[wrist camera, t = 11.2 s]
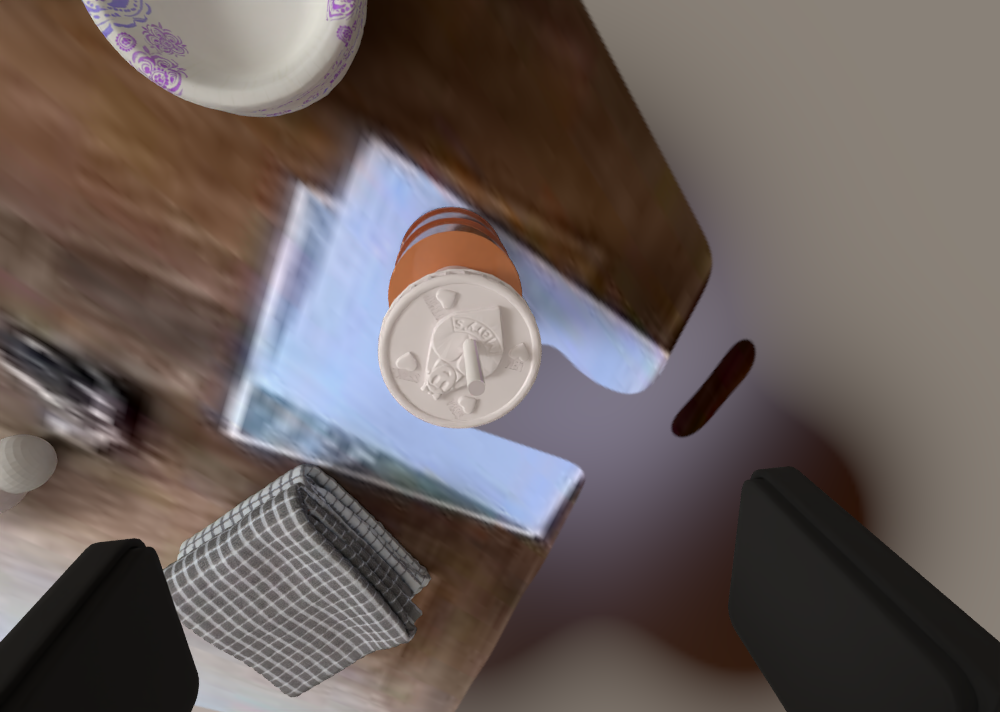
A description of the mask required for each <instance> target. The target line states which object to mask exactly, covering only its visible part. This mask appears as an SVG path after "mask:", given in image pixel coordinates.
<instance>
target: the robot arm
mask: <svg viewBox="0 0 1000 712" xmlns="http://www.w3.org/2000/svg"><path fill="white" fill-rule="evenodd" d="M728 609H729V615H730V619H731V622H732V625H733V627H734V629H735V631H736V632H737V634H738V635H739V637H740V639H741V640H742V642H743V643H744V645H745V646H746V648H747V650H748V651H749V653H750V654H751V656H752V657H753V659H754V661H755V662H756V664H757V665H758V667H759V669H760V670H761V672H762V673H763V675H764V676H765V678H766V679H767V681H768V683H769V684H770V686H771V687H772V689H773V691H774V692H775V693H776V695H777V697H778V698H779V700H780V702H781V703H782V705H783V706H784V708H785V710H786V711H787V712H1000V642H999V641H998V640H997V639H995V638H994V637H993V636H992V635H991V634H989V633H988V632H987V631H986V630H985V629H984V628H982V627H981V626H980V625H979V624H978V623H977V622H975V621H974V620H973V619H972V618H971V617H970V616H968V615H967V614H966V613H965V612H964V611H962V610H961V609H960V608H959V607H958V606H957V605H956V604H954V603H953V602H952V601H951V600H950V599H948V598H947V597H946V596H945V595H944V594H943V593H941V592H940V591H939V590H938V589H937V588H936V587H934V586H933V585H932V584H931V583H930V582H929V581H927V580H926V579H925V578H924V577H922V576H921V575H920V574H919V573H918V572H917V571H916V570H915V569H913V568H912V567H911V566H910V565H908V564H907V563H906V562H905V561H904V560H903V559H902V558H900V557H899V556H898V555H897V554H896V553H895V552H893V551H892V550H891V549H890V548H889V547H888V546H886V545H885V544H884V543H883V542H882V541H880V540H879V539H878V538H877V537H876V536H875V535H873V534H872V533H871V532H870V531H869V530H868V529H866V528H865V527H864V526H863V525H862V524H861V523H859V522H858V521H857V520H856V519H855V518H854V517H852V516H851V515H850V514H849V513H848V512H847V511H845V510H844V509H843V508H842V507H841V506H839V505H838V504H837V503H836V502H835V501H834V500H832V499H831V498H830V497H829V496H828V495H826V494H825V493H824V492H823V491H822V490H821V489H820V488H818V487H817V486H816V485H815V484H814V483H813V482H811V481H810V480H809V479H808V478H807V477H806V476H804V475H803V474H802V473H801V472H800V471H798V470H797V469H795V468H794V467H789V466H788V467H779V468H769V469H760V470H756V471H755V472H754V473H753V474H752V476H751V479H750V480H747V481H745V482H744V484H743V487H742V493H741V501H740V510H739V518H738V527H737V535H736V544H735V552H734V561H733V569H732V578H731V587H730V595H729V604H728ZM198 689H199V677H198V673H197V670H196V667H195V664H194V661H193V658H192V655H191V652H190V649H189V646H188V643H187V640H186V637H185V634H184V631H183V628H182V625H181V622H180V620H179V617H178V614H177V611H176V608H175V605H174V602H173V599H172V596H171V593H170V590H169V587H168V584H167V581H166V578H165V575H164V572H163V569H162V566H161V563H160V560H159V557H158V555H157V553H156V551H155V549H153V548H152V547H146V546H145V544H144V543H143V542H142V541H141V540H140V539H135V538H134V539H125V540H116V541H106V542H98V543H95V544H92V545H90V546H89V547H88V548H87V549H85V551H84V552H83V553H82V554H81V555H80V556H79V557H78V558H77V559H76V560H75V561H74V563H73V564H72V565H71V566H70V567H69V568H68V569H67V570H66V571H65V572H64V573H63V575H62V576H61V577H60V578H59V579H58V580H57V581H56V582H55V583H54V584H53V585H52V587H51V588H50V589H49V590H48V591H47V592H46V593H45V594H44V595H43V596H42V597H41V599H40V600H39V601H38V602H37V603H36V604H35V605H34V606H33V607H32V608H31V609H30V611H29V612H28V613H27V614H26V615H25V616H24V617H23V618H22V619H21V620H20V621H19V622H18V624H17V625H16V626H15V627H14V628H13V629H12V630H11V631H10V632H9V633H8V634H7V636H6V637H5V638H4V639H3V640H2V641H1V642H0V712H191V711H192V708H193V706H194V704H195V701H196V699H197V694H198Z"/></svg>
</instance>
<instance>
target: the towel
mask: <svg viewBox="0 0 1000 712" xmlns="http://www.w3.org/2000/svg"><path fill="white" fill-rule="evenodd" d="M180 547H181V548H180V553H179V554H178V559H177V561H175V562H174V563H172V564H170V565H169V566H168V567H166V568H165V569H163V572H164V575H165V578H166V581H167V584H168V587H169V590H170V593H171V596H172V599H173V602H174V605H175V608H176V611H177V614H178V617H179V620H180V621H181V622H182V623H183V624H184V625H185V626H186V627H187V628H188V629H192V630H193V632H194V633H195V634H197V635H199V636H200V637H203V638H204V640H206V641H207V642H209V643H212V644H213V645H214V646H216V647H217V648H218V649H220V650H223V651H224V652H226V653H228V654H230V655H233V656H234V657H235V658H237V659H239V660H241V661H244V663H245V664H247V665H248V666H249V667H253V668H254V670H255V671H257V672H258V673H259V674H262V675H263V676H264V678H266V679H267V680H268V681H271V683H272V684H274V686H276V687H279V688H280V690H281V691H282V692H283V693H284V694H287V695H288V696H290V697H296V696H299V695H301V694H302V693H303V692H306V691H308V690H309V689H311V688H312V687H314V686H316V685H318V684H320V683H321V682H323V681H324V680H327V679H328V678H330V677H332V676H333V675H334V674H336V673H338V672H340V671H342V670H343V669H345V668H346V667H348V666H349V665H351V664H353V663H354V662H356V661H357V660H359V659H361V658H363V657H364V656H365V655H367V654H370V653H373V652H375V651H376V650H382V649H388V648H391V647H396V646H398V645H399V644H401V643H402V644H403V643H408V642H409V641H410V640H411V639H412V638H413V637H414V635H415V633H416V631H417V628H416V627H415V625H414V623H415V621H416V620H417V619H418V618H419V617H420V616H421V615H422V611H421V610H420V609H419V608H418V607H417V606H416V605H415V604H414V603H413V602H412V601H411V599H412V598H413V597H414V595H415V594H417V593H419V592H420V591H421V590H422V588H423V587H425V586H427V585H428V582H429V581H430V580H431V577H430V575H429V573H428V572H427V569H426V568H425V567H424V566H421V565H420V564H419V562H418V561H417V560H416V559H414V558H413V557H412V556H411V555H410V554H409V553H408V552H407V551H406V550H405V548H403V547H402V546H401V545H400V544H399V543H398V541H397V540H396V539H395V538H394V537H392V535H391V534H390V533H389V532H388V531H387V530H386V529H384V526H383V525H382V524H381V523H380V522H378V521H376V520H375V518H374V517H373V516H372V515H371V514H370V513H368V511H366V510H365V509H364V507H362V506H361V505H360V504H359V502H358V501H357V500H356V499H354V498H353V497H352V496H351V495H350V494H349V493H347V491H345V490H344V488H342V487H341V485H339V484H338V483H337V482H336V480H334V479H333V478H332V477H330V476H329V475H327V474H325V473H324V472H323V471H322V470H321V469H320V468H318V467H317V466H315V465H311V464H303V465H299V466H297V467H296V468H295V469H293V470H290V471H288V472H287V473H286V474H285V475H284V476H280V477H279V478H278V479H276V480H275V482H272V483H270V484H268V485H267V486H266V488H264V489H262V490H260V491H258V492H257V493H256V494H255V495H252V496H250V497H249V498H247V499H246V500H245V501H243V502H241V503H240V504H238V505H237V506H236V507H235V508H233V509H232V510H230V511H229V512H227V513H226V514H225V515H224V516H222V517H220V518H219V519H218V520H217V521H215V522H214V523H212V524H210V525H208V527H206V528H204V529H203V530H202V531H200V532H198V533H196V534H195V535H194V536H193V537H191V538H189V539H187V540H186V541H184V542H183V543H182V545H181V546H180Z"/></svg>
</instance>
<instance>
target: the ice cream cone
mask: <svg viewBox="0 0 1000 712" xmlns="http://www.w3.org/2000/svg"><path fill="white" fill-rule="evenodd" d="M56 465H57V455H56V452H55V450H54V448H53V447H52V445H51V444H50V443H48V442H47V441H46V440H44V439H42V438H40V437H37V436H33V435H14V436H9V437H6V438H3V439H1V440H0V514H1V513H3V512H5V511H7V510H9V509H11V508H12V507H14V506H15V505H17V504H18V503H19V502H20V501H21V500H22V499H23V498H24V497H25V495H26V494H27V492H28V491H31V490H34V489H36V488H38V487H40V486H41V485H43V484H44V483H45V482H46V481H47V480H48V479H49V478H50V477H51V476H52V474H53V473H54V471H55V469H56Z"/></svg>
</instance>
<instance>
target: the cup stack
mask: <svg viewBox="0 0 1000 712" xmlns="http://www.w3.org/2000/svg"><path fill="white" fill-rule="evenodd" d="M447 266H463V267H467V268H469V269H473V270H477V271H480V272H484V273H488V274H491V275H494V276H495V277H497V278H499V279H500V280H502V281H504V282H505V283H507V284H509V285H511V286H512V287H513V288H514V289H515V291H516V292H517V293H518V294H519V295H520V296H521V297H522V288H521V282H520V279H519V275H518V273H517V270H516V268H515V266H514V264H513V263H512V261H511V260H510V258H509V256H508V254H507V251H506V249H505V248H504V246H503V244H502V243H501V241H500V239H499V237H498V235H497V233H496V232H495V230H494V229H493V228H492V226H491V225H490V224H489V223H488V222H487V221H486V220H485V219H484V218H482V217H481V216H480V215H478V214H476V213H475V212H473V211H470V210H468V209H464V208H460V207H442V208H437V209H434V210H431V211H429V212H427V213H425V214H424V215H422V216H421V217H419V218H418V219H417V220H416V221H415V222H414V223H413V224H412V225H411V226H410V228H409V229H408V231H407V232H406V234H405V236H404V238H403V241H402V244H401V248H400V251H399V253H398V256H397V259H396V263H395V269H394V271H393V273H392V276H391V279H390V284H389V290H388V301H389V308H390V306H391V304H392V302H393V301H394V300H395V299H396V298H397V297H398V296H399V295H400V294H401V293H402V292H403V291H404V290H405V289H406V288H407V287H408V286H409V285H410V284H412V283H414V282H415V281H417V280H419V279H421V278H422V277H424V276H426V275H428V274H431V273H435V272H436V271H437V270H439V269H441V268H444V267H447Z"/></svg>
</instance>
